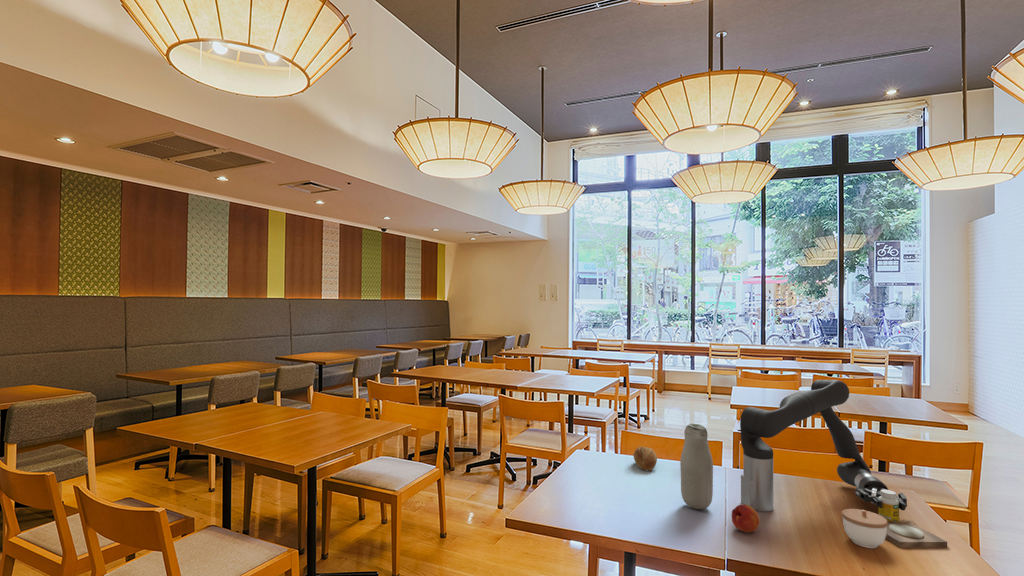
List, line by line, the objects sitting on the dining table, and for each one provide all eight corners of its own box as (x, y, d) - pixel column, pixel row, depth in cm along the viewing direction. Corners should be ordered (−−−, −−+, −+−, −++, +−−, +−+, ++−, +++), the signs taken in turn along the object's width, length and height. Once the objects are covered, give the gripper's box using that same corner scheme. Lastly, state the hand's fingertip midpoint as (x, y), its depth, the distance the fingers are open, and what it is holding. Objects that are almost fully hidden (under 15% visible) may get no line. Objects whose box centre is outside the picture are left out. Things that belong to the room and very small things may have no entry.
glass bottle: (716, 507, 164) (716, 424, 165) (705, 516, 156) (705, 429, 157) (688, 498, 171) (688, 419, 172) (675, 507, 163) (676, 424, 164)
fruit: (726, 524, 151) (726, 499, 151) (752, 525, 151) (752, 499, 151) (737, 537, 143) (737, 509, 143) (765, 537, 143) (765, 510, 143)
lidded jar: (833, 534, 145) (833, 503, 146) (866, 533, 146) (866, 502, 146) (862, 553, 135) (861, 519, 135) (897, 552, 135) (897, 518, 136)
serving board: (900, 547, 138) (900, 539, 138) (865, 526, 151) (865, 519, 151) (947, 547, 139) (947, 539, 139) (908, 526, 152) (908, 519, 152)
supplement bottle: (882, 516, 158) (881, 487, 158) (902, 523, 154) (901, 492, 154) (875, 520, 155) (875, 490, 155) (895, 527, 151) (895, 496, 151)
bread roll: (634, 472, 198) (634, 452, 198) (632, 460, 213) (632, 442, 213) (659, 473, 196) (659, 454, 196) (654, 462, 211) (654, 443, 211)
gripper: (846, 473, 171) (865, 491, 154) (895, 478, 166) (919, 497, 150) (847, 495, 170) (865, 514, 154) (895, 500, 166) (919, 521, 150)
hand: (892, 506), depth 152 cm, fingers closed on supplement bottle, 5 cm apart
